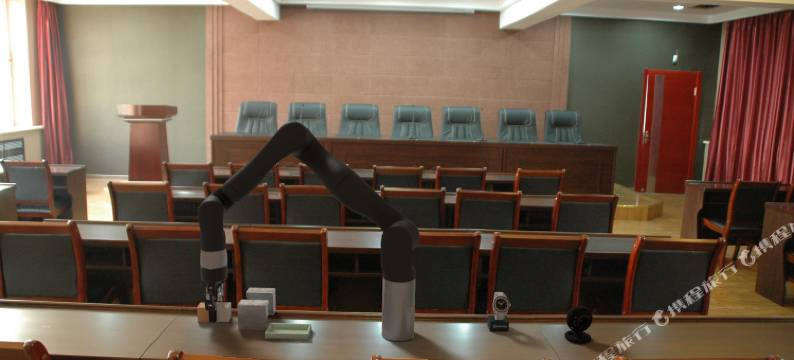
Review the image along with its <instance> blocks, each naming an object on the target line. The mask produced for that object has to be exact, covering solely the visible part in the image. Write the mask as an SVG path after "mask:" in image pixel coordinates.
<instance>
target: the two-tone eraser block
mask: <svg viewBox="0 0 794 360" xmlns="http://www.w3.org/2000/svg"><path fill="white" fill-rule="evenodd" d="M210 306H212V305H210ZM196 309H197V314H196V315H197V323H210V322H209V310H205V303H204V302H200V303H199V304H198V305H197V308H196ZM231 318H232V302H228V301H227V302H223V301H222V302H217V321H216V322H215V323H221V322H222V323H229V322H230V320H231Z"/></svg>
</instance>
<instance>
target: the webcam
mask: <svg viewBox="0 0 794 360" xmlns="http://www.w3.org/2000/svg"><path fill="white" fill-rule="evenodd" d="M593 317H594V316H593V313H592V311H591V310H590V309H589V308H588V307H586V306H584V305H577V306H574V307H572V308H570V309H569V311H568V312H567V314H566V319H565V321H566V325H567V327H568V329H569V330H567V331H565V333H564V339H566V341H568V342H570V343H573V344H575V345H588V344H589V343H591V342H592V340H593V339H592V336H591V335H590V333H587V332H586V331H587V330H588V329H589V328H590V327H591V325H592V324H593V319H594V318H593ZM572 336H574V337H572Z"/></svg>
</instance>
